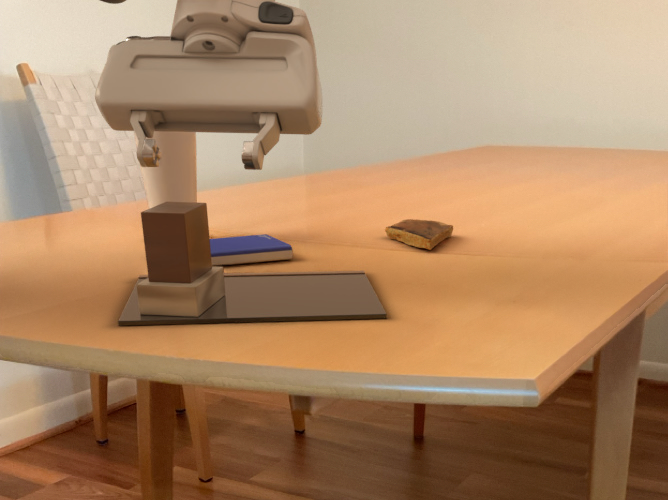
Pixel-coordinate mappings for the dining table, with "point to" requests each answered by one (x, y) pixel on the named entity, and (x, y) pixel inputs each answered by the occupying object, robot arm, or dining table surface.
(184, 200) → the white cup
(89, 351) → the dining table surface
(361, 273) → the slate
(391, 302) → the dining table surface
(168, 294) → the brown block with base
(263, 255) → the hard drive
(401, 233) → the shard
